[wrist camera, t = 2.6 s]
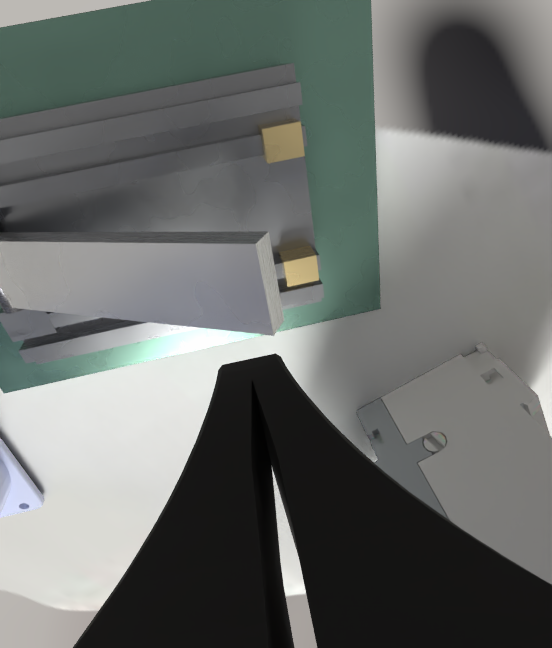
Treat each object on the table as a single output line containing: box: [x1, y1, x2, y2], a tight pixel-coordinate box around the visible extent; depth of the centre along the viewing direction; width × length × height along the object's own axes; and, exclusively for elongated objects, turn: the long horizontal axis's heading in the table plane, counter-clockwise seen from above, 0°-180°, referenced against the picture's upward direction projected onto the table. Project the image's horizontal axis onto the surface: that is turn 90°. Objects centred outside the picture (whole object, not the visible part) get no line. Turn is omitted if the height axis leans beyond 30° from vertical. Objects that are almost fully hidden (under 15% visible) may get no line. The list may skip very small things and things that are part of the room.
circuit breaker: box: [356, 342, 552, 584], centre depth 21 cm, size 8×14×15 cm, turn 120°
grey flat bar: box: [0, 231, 284, 336], centre depth 12 cm, size 10×3×1 cm
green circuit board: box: [0, 0, 380, 393], centre depth 16 cm, size 18×13×4 cm
